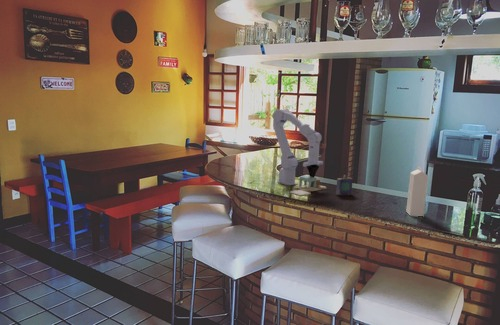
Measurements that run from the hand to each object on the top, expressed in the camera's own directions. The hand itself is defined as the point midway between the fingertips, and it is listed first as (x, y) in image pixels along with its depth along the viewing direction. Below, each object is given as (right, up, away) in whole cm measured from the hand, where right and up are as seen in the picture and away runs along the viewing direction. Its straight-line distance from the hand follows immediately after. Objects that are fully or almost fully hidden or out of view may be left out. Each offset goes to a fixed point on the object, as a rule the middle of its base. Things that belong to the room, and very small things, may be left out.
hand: (312, 178), depth 222 cm
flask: (+15, -9, -11) cm, 20 cm away
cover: (-3, -5, -1) cm, 6 cm away
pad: (-8, -8, -12) cm, 16 cm away
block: (+2, -6, +3) cm, 6 cm away
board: (-1, -6, 0) cm, 6 cm away
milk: (+40, -15, -43) cm, 60 cm away
